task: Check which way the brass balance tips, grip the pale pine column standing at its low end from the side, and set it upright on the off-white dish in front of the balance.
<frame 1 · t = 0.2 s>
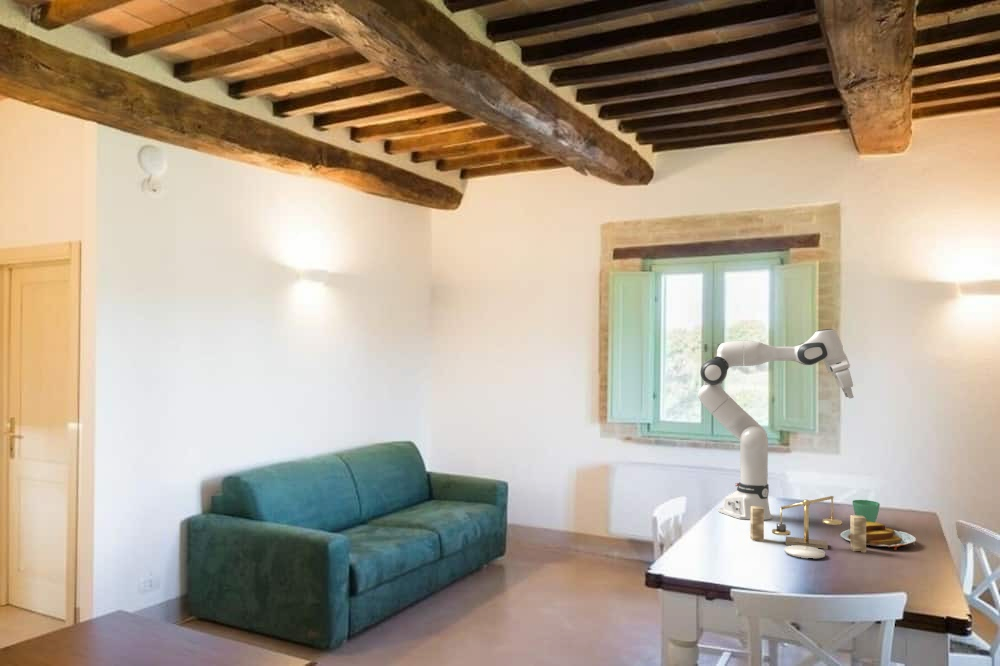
hand: (849, 397, 294), 52 cm above the table, tool tilted 20°, fingers open, 8 cm apart
column 1: (757, 539, 268), on the table
column 2: (858, 550, 254), on the table
dish: (804, 554, 248), on the table
balance: (806, 544, 261), on the table
mug: (866, 526, 292), on the table
food on plate: (877, 543, 267), on the table
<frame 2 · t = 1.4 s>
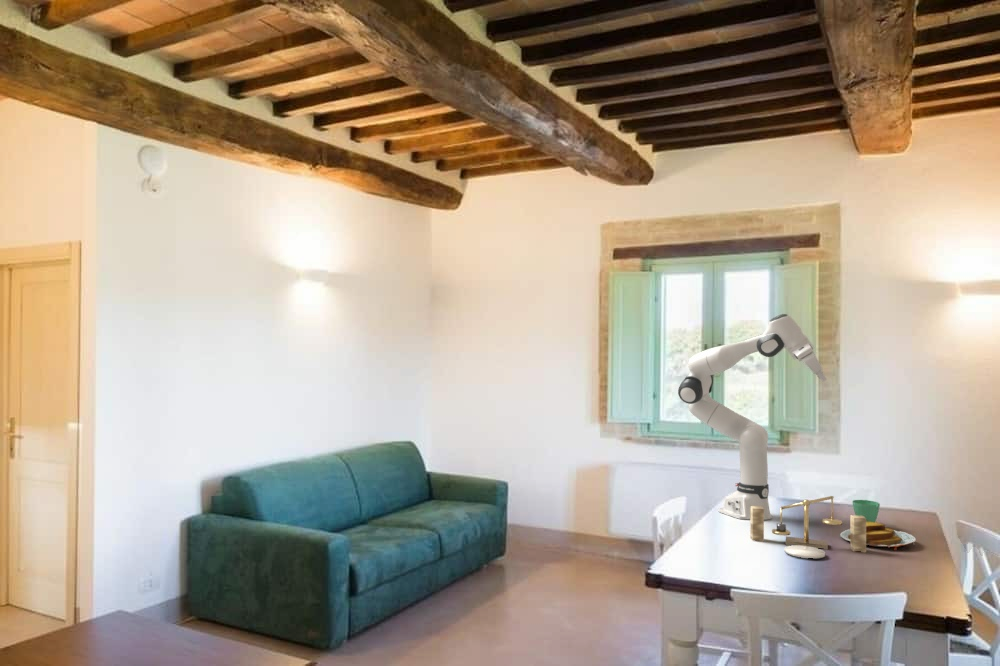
hand: (823, 379, 279), 60 cm above the table, tool tilted 35°, fingers open, 8 cm apart
nothing on the table moved.
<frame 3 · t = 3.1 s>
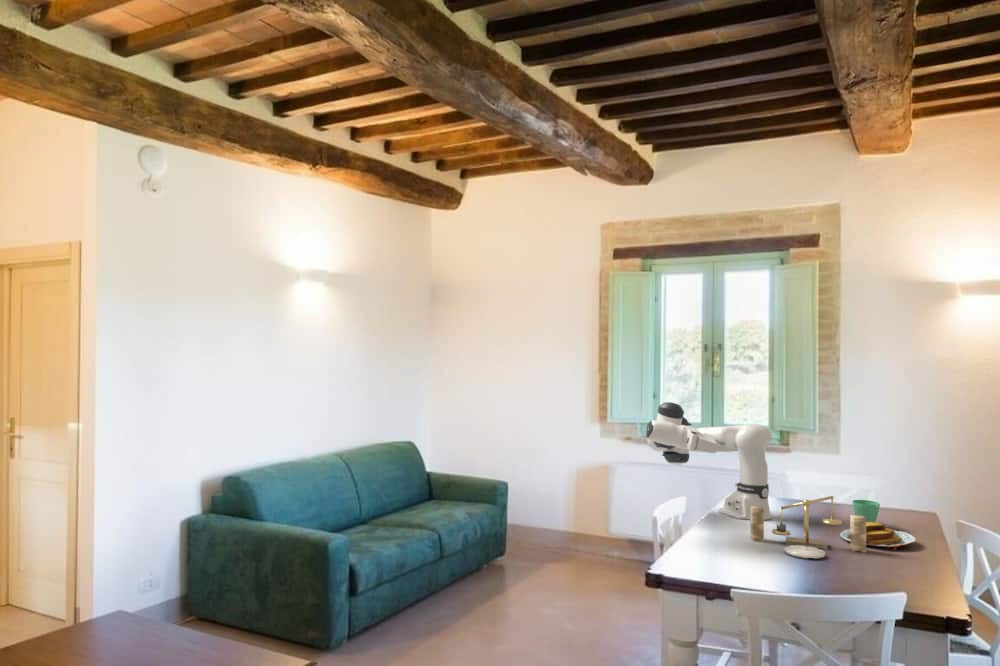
hand: (726, 446, 269), 34 cm above the table, tool horizontal, fingers open, 8 cm apart
nothing on the table moved.
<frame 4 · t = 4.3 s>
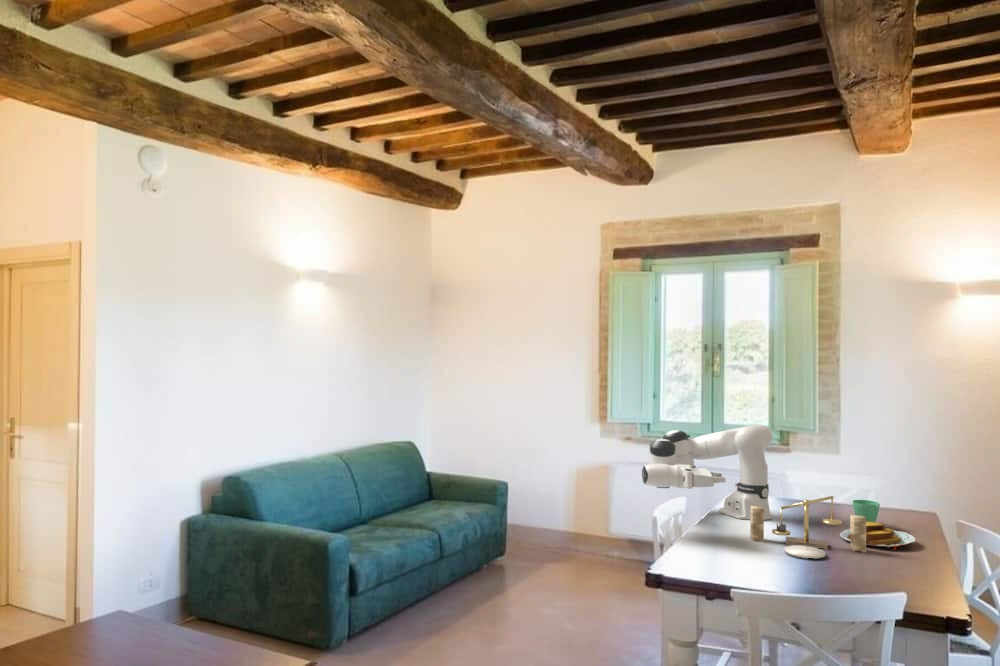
hand: (723, 477, 270), 23 cm above the table, tool horizontal, fingers open, 8 cm apart
nothing on the table moved.
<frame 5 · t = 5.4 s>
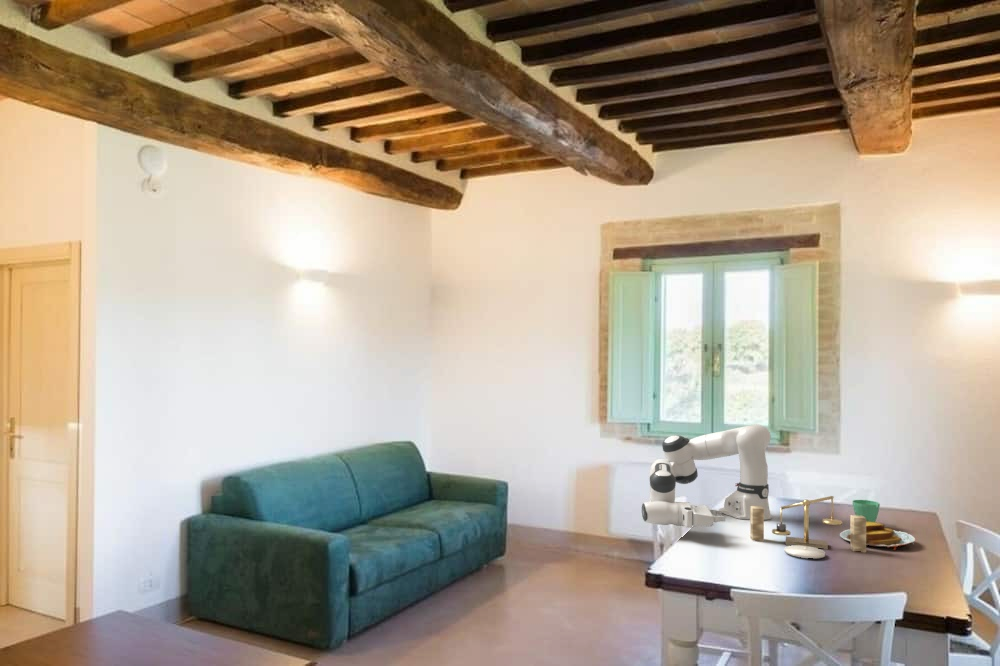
hand: (723, 515, 269), 8 cm above the table, tool horizontal, fingers open, 8 cm apart
nothing on the table moved.
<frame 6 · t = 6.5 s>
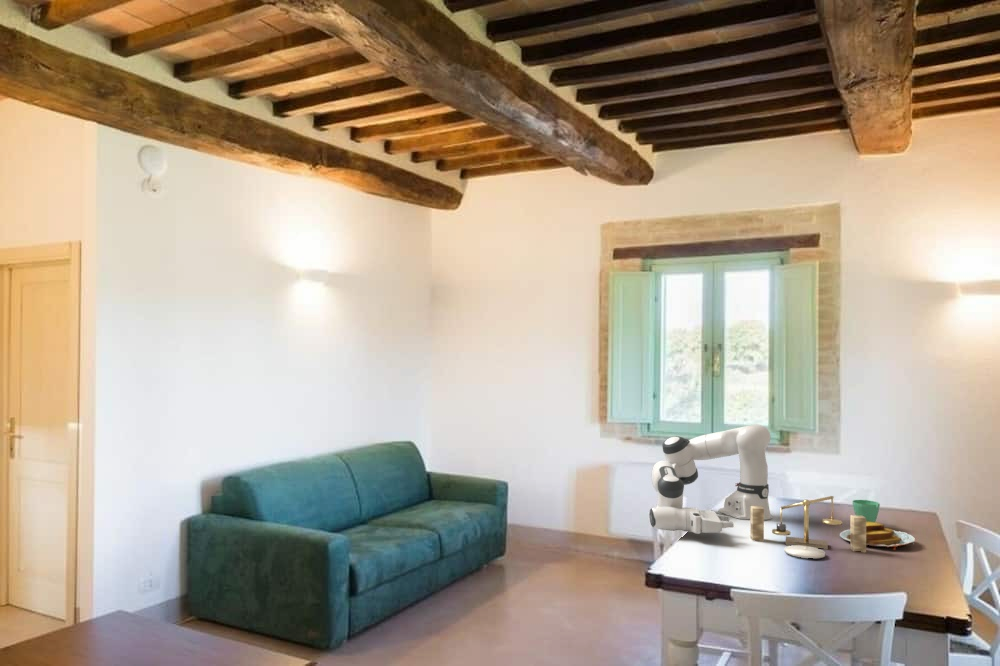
hand: (731, 521, 269), 6 cm above the table, tool horizontal, fingers open, 8 cm apart
nothing on the table moved.
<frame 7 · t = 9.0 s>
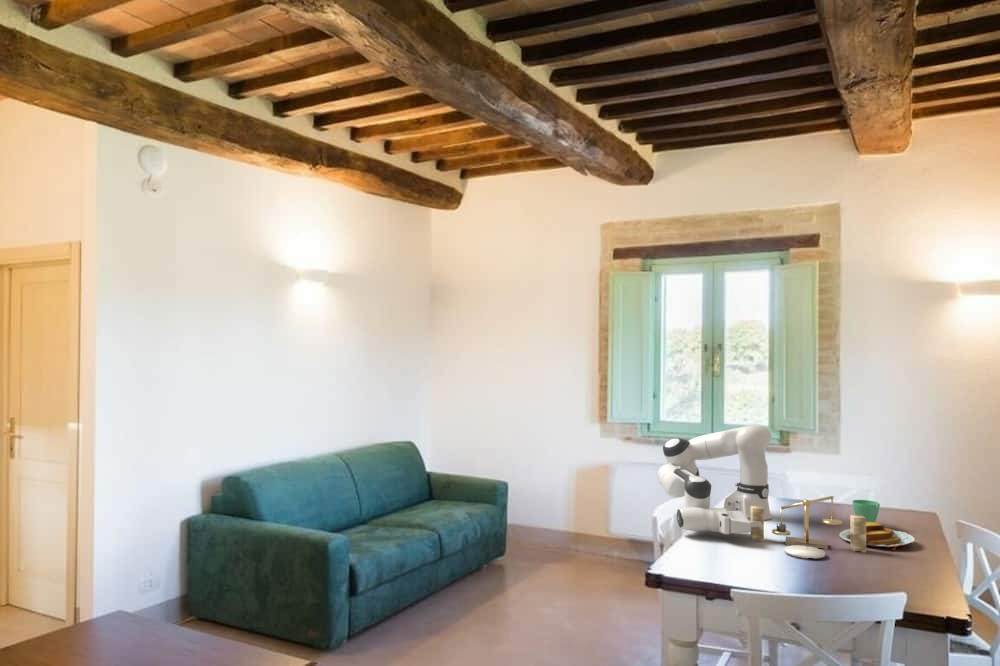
hand: (759, 522, 268), 7 cm above the table, tool horizontal, fingers closed on column 1, 4 cm apart
column 1: (757, 539, 268), on the table, touching gripper
everything else where it was.
when the fingers open (9 cm above the table, at t = 16.4 s): column 1 drops 1 cm, resting on dish.
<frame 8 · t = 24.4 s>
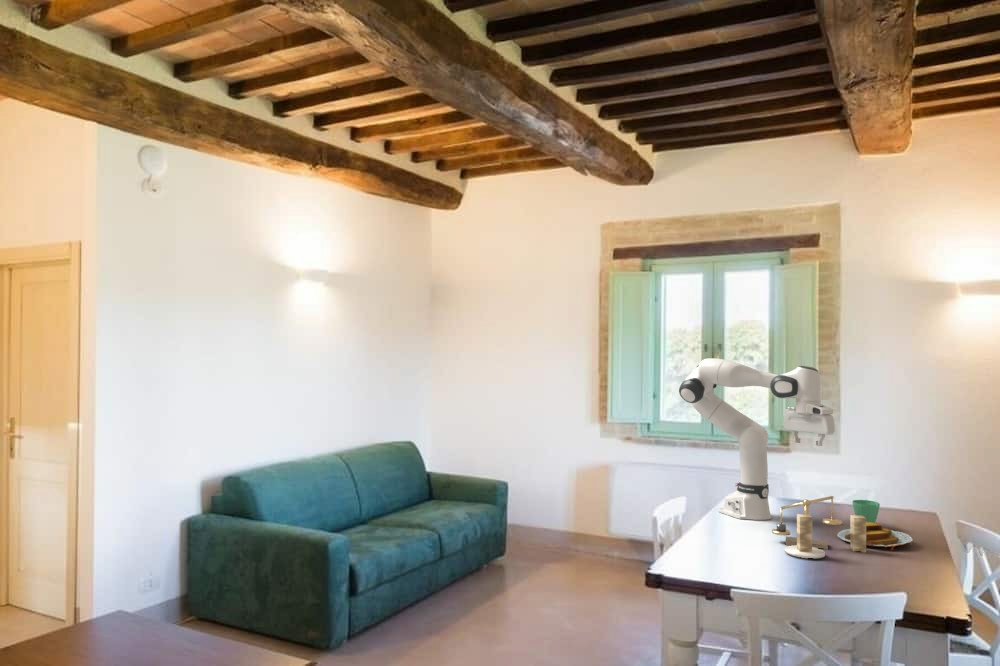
hand: (808, 444, 275), 35 cm above the table, tool pointing down, fingers open, 8 cm apart
column 1: (804, 550, 248), point 1 cm above the table, touching dish
at the end: column 1 inside the target area on the dish (0.1 cm from its centre), point 1.5 cm above the dish's base; column 1 tilted 0°; column 2 moved 0.0 cm from its start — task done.
